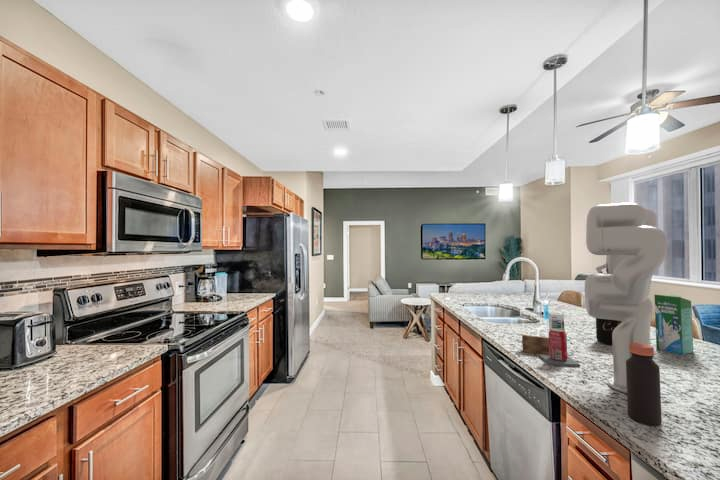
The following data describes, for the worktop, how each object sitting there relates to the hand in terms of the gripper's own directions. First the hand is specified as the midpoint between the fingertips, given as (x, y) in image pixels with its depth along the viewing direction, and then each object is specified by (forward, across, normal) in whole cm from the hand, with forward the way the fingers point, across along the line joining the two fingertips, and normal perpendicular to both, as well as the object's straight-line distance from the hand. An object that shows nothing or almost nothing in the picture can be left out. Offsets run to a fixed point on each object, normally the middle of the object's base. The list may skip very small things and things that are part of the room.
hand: (623, 289), depth 122 cm
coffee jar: (+31, -3, -36) cm, 48 cm away
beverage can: (+29, +23, +4) cm, 38 cm away
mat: (+30, +23, +4) cm, 38 cm away
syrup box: (+31, +20, -26) cm, 45 cm away
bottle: (+30, +7, +45) cm, 55 cm away
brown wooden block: (+30, +29, -5) cm, 42 cm away
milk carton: (+31, -25, -34) cm, 53 cm away
